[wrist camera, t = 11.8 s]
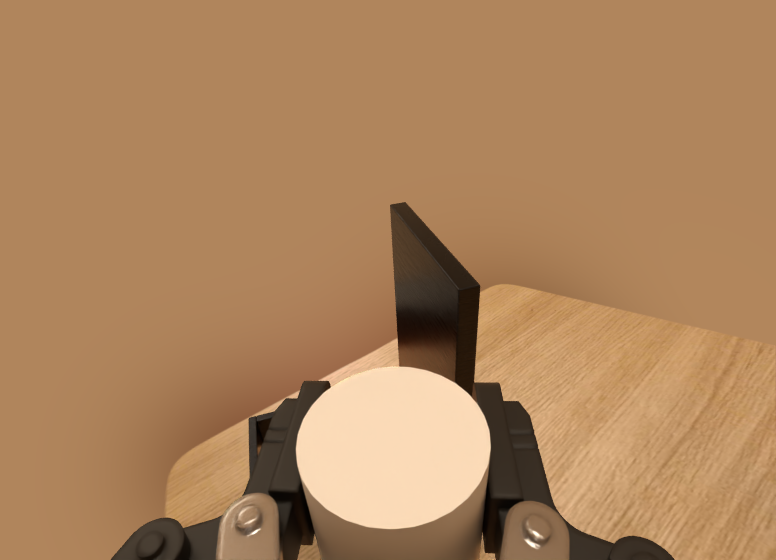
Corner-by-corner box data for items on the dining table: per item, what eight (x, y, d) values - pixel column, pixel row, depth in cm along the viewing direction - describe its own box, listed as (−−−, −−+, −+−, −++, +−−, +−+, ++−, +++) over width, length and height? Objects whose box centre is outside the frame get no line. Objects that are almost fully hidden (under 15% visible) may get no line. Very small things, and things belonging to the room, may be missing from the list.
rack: (275, 599, 31) (172, 351, 19) (267, 458, 41) (196, 235, 28) (504, 522, 34) (541, 272, 22) (445, 409, 44) (449, 194, 32)
